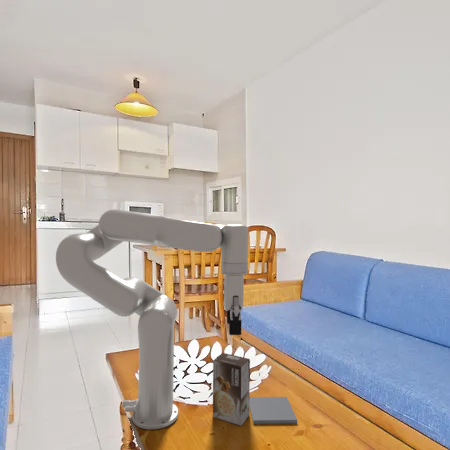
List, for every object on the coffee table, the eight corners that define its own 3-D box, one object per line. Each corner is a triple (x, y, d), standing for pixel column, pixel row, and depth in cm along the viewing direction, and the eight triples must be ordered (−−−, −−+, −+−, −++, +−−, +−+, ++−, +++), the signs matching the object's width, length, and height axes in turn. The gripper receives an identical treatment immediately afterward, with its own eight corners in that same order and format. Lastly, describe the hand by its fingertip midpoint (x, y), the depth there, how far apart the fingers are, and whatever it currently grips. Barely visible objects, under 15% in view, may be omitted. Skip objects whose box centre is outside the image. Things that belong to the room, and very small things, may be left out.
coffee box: (250, 414, 95) (251, 358, 95) (240, 426, 89) (242, 367, 89) (221, 405, 99) (223, 352, 99) (211, 416, 93) (212, 359, 93)
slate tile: (253, 423, 90) (253, 420, 90) (248, 400, 102) (248, 397, 102) (297, 423, 91) (297, 419, 91) (286, 400, 103) (286, 396, 103)
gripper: (220, 264, 102) (219, 319, 102) (222, 272, 85) (221, 339, 85) (244, 264, 103) (243, 319, 103) (251, 273, 85) (250, 339, 86)
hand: (233, 328), depth 94 cm, fingers open, 9 cm apart
